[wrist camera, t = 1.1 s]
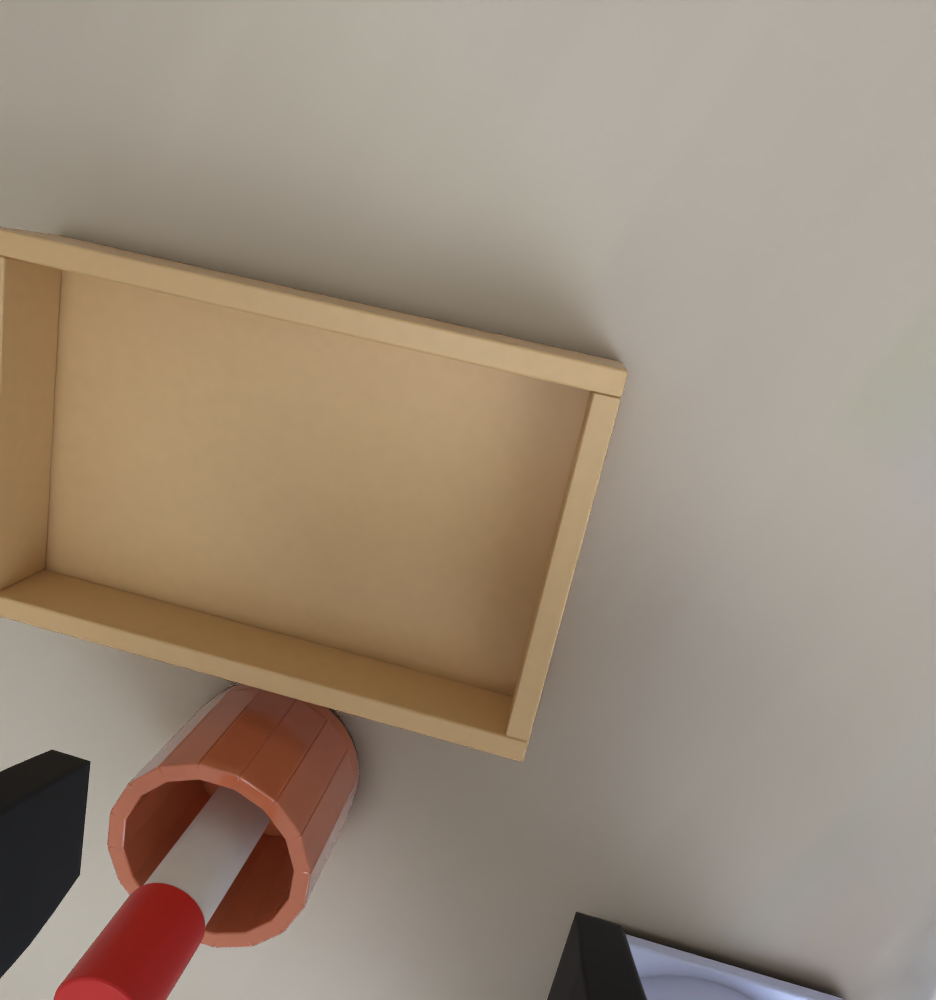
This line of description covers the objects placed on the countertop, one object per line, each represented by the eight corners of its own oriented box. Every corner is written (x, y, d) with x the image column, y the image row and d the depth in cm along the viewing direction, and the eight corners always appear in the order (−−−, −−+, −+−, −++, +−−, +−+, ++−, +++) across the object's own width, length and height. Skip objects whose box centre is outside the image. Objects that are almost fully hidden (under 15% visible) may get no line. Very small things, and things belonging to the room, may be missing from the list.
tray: (530, 710, 21) (522, 763, 18) (38, 577, 22) (-29, 609, 20) (623, 362, 18) (628, 370, 16) (56, 234, 19) (-20, 224, 17)
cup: (344, 856, 23) (292, 972, 19) (184, 808, 23) (100, 912, 19) (373, 708, 21) (324, 800, 17) (202, 660, 22) (115, 739, 18)
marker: (293, 805, 22) (138, 1070, 14) (233, 788, 22) (48, 1040, 15) (303, 752, 22) (146, 997, 14) (241, 734, 22) (53, 966, 14)
